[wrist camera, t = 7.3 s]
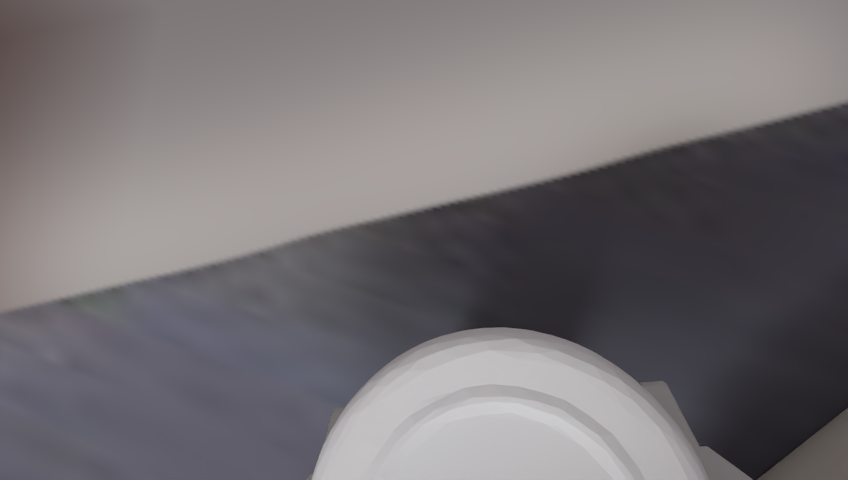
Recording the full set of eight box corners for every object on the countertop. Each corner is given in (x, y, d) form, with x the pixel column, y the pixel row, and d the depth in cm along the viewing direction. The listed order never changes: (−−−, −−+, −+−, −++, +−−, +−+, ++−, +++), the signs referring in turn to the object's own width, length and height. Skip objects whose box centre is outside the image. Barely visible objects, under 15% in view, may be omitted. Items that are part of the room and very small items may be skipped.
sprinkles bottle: (509, 320, 18) (557, 246, 5) (582, 427, 17) (868, 660, 4) (411, 385, 18) (219, 468, 5) (477, 497, 17) (437, 953, 4)
